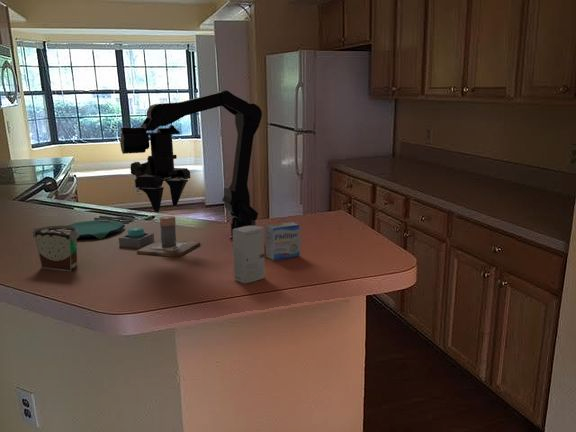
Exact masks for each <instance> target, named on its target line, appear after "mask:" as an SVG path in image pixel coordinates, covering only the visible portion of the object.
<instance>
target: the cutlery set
mask: <svg viewBox="0 0 576 432" xmlns="http://www.w3.org/2000/svg"><path fill="white" fill-rule="evenodd" d="M107 218H108V219H107ZM138 219H139V218H138V217H137V218H135V217H128V216H123V215H122V216H116V217H115V216H107V215H99V217H93V220H87V221H86V220H84V221H78V222H73V223H72V224H68V225H69V226H74V227H76V229H77V230H78V233H79V238H91V237H95V238H97V239H98V240H102V239H101V238H103V239H104V238H105V237H106V236H107V235H109V234H114V233H116V232H118V231H121V230H122V229H124V228H125V227H126V225H127V224H130V222H133V221H134V220H138ZM120 220H122V221H120ZM119 221H120V222H119ZM125 224H126V225H125Z"/></svg>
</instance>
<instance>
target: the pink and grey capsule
mask: <svg viewBox="0 0 576 432" xmlns="http://www.w3.org/2000/svg"><path fill="white" fill-rule="evenodd" d="M159 226H160V239H161V243H162V247H167V248H168V247H174V246H176V240H177V235H176V233H177V232H176V217H175V216H174V215H164V216H161V217H159Z"/></svg>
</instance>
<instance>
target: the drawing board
mask: <svg viewBox="0 0 576 432" xmlns="http://www.w3.org/2000/svg"><path fill="white" fill-rule="evenodd" d="M199 246H201V241H190V240H189V241H188V240H187V241H186V240H177V239H176V246H174V247H168V248H167V247H162V243H161V238H160V239H158V240H156V241H154V242H153V243H150V244H148V245H146V246H144V247H142V248H138V249H137V250H136V254H140V255H150V256H151V255H153V256H161V257H172V258H180V257H181V256H183V255H186V254H187V253H189V252H191V251H193V250H194V249H196V248H197V247H199Z"/></svg>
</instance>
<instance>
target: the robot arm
mask: <svg viewBox="0 0 576 432" xmlns="http://www.w3.org/2000/svg"><path fill="white" fill-rule="evenodd" d="M218 107H223V108H224V109H225V110H227V111H228V112H229V113H230V114H231V115H232V116H233V115H234V119H235V120H234V123H235V128H236V133H237V137H236V146H235V154H234V162H233V170H232V171H233V172H232V176H231V177H232V178H231V183H230V185H229V186H228V187H224V188H223V196H222V197H223V198H222V200H221V201H222V202H223V206H224V208H225V210H226V211H228V212H229V213H230V216H231V217H232V218H231V223H230V232H231V235H230V236H231V237H230V241H231V240H232V241H233V232H232V230H233V229H235V228H240V227H244V226H250V225H254V226H257V224H256V220H257V219H258V216H259V213H258V212H257V210H255V209H254V208H253V207H252V206H251V195H250V191H249V187H248V182H249V175H250V165H251V158H252V151H253V144H254V136H255V135H256V132H257V131H258V130H259V128H260V124H261V121H262V116H263V111H262V108H260V106H258V104H256V103H249V102H248V101H247V100H244V99H243V98H241V97H239V96H236V95H235V94H233V93H231V92H230V91H229V90H219V91H217V92H215V93H210V94H207V95H203V96H199V97H195V98H194V97H193V98H191V99H187V100H183V101H180V102H179V101H178V102H166V103H163V102H162V103H154V104H151V105H150V106H149V107H148V109H147V110H146V118H145V119H144V120H143V122H142V124H141V125H140V127H127V126H121V127H120V139H119V143H120V151H121V153H122V155H124V154H127V155H128V154H139V153H140V154H144V153H146V150H148V149H150V153H151V155H148V156H147V161H146V162H144V163H140V161H134V162H131V163H130V174H131V175H132V176H135V179H134V187H135V188H138V190H139V191H142V192H143V193H145V194H146V196H147V198H148V200H149V202H150V205H151V207H152V209H153V211H154V213H159V212H160V209H161V205H162V198H163V194H164V188H165V187H164V186H163V184H164V182H165V183H166V184H167V185H168V186H169V190H170V191H169V192H170V197H171V201H172V205H173V206H177V205H178V203H179V200H180V198H181V197H182V196H181V195H182V193H183V191H184V189H185V187H186V184H187V183H188V182H189V180H188V179H191V171H190V170H189V169H188V168H186V167H184V168H183V167H175V163H174V160H175V159H176V160H177V158H178V157H177V156H178V155H177V154H174V146H173V145H174V144H173V135H180V131H179V130H178V129H177V128H176V127H175V125H173V124H174V123H175V122H176V121H178V120H180V119H182V118H184V117H185V116H186V117H187V116H189V115H194V114H197V113H200V112H204V111H207V110H211V109H214V108H215V109H216V108H218ZM166 126H168V127H166ZM159 127H160V128H159ZM163 127H164V128H163ZM147 131H149V132H147ZM150 131H151V132H150ZM153 131H155V132H153Z"/></svg>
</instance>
